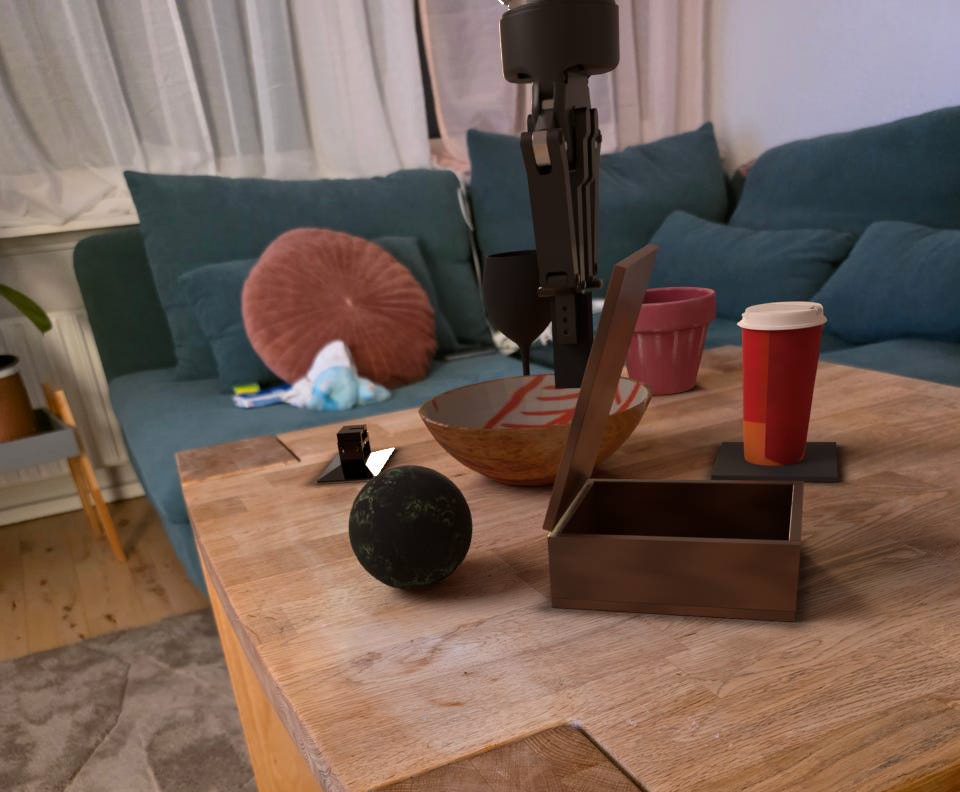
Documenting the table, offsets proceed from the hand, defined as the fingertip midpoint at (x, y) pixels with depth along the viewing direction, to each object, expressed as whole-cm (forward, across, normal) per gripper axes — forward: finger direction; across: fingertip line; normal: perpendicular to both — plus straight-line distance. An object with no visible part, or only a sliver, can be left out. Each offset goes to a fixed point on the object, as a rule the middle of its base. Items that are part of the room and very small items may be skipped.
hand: (575, 385), depth 66 cm
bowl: (+15, -27, -11) cm, 33 cm away
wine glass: (+15, -58, -21) cm, 64 cm away
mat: (+15, -30, +14) cm, 36 cm away
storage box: (+15, 0, +8) cm, 17 cm away
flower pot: (+15, -66, -3) cm, 68 cm away
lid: (0, 0, +2) cm, 2 cm away
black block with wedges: (+15, -28, -34) cm, 47 cm away
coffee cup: (+15, -30, +14) cm, 36 cm away
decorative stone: (+15, +4, -13) cm, 21 cm away
